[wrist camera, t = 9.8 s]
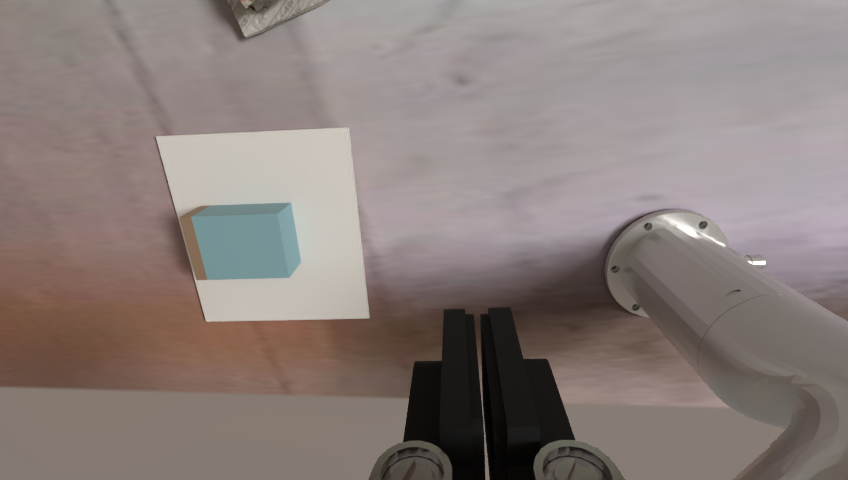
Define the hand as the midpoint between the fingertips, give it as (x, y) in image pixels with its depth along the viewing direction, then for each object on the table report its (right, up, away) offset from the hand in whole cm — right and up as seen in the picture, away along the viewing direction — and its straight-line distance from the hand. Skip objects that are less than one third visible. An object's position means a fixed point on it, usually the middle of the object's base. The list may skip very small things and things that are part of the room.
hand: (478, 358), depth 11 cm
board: (-18, +4, +36) cm, 41 cm away
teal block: (-16, +3, +34) cm, 37 cm away
